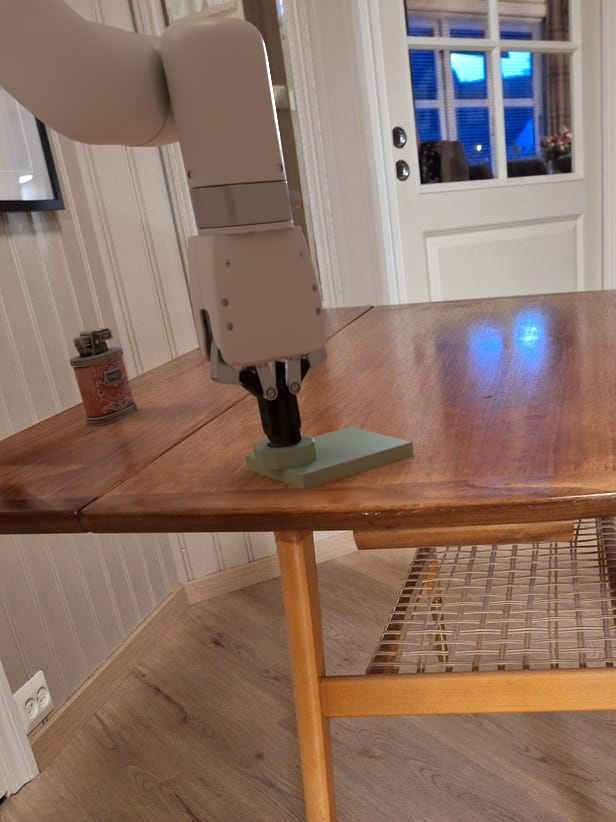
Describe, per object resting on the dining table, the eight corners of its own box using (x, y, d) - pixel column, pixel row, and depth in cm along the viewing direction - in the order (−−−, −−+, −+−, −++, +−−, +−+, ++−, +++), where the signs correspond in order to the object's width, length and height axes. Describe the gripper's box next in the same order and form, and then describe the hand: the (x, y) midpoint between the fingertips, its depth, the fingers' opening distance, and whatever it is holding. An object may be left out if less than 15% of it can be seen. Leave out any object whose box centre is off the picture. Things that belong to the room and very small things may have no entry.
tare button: (281, 463, 76) (278, 446, 75) (267, 459, 78) (264, 442, 77) (304, 457, 78) (302, 439, 77) (290, 452, 79) (287, 435, 78)
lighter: (105, 425, 101) (81, 336, 97) (80, 425, 102) (55, 337, 97) (144, 408, 108) (123, 324, 103) (120, 409, 109) (98, 325, 104)
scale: (293, 494, 74) (287, 459, 72) (236, 473, 80) (229, 441, 79) (414, 456, 81) (410, 424, 80) (352, 440, 88) (348, 410, 86)
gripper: (298, 205, 75) (331, 417, 84) (132, 221, 67) (188, 454, 75) (348, 202, 70) (377, 428, 79) (175, 219, 61) (229, 469, 70)
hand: (284, 440), depth 77 cm, fingers closed
